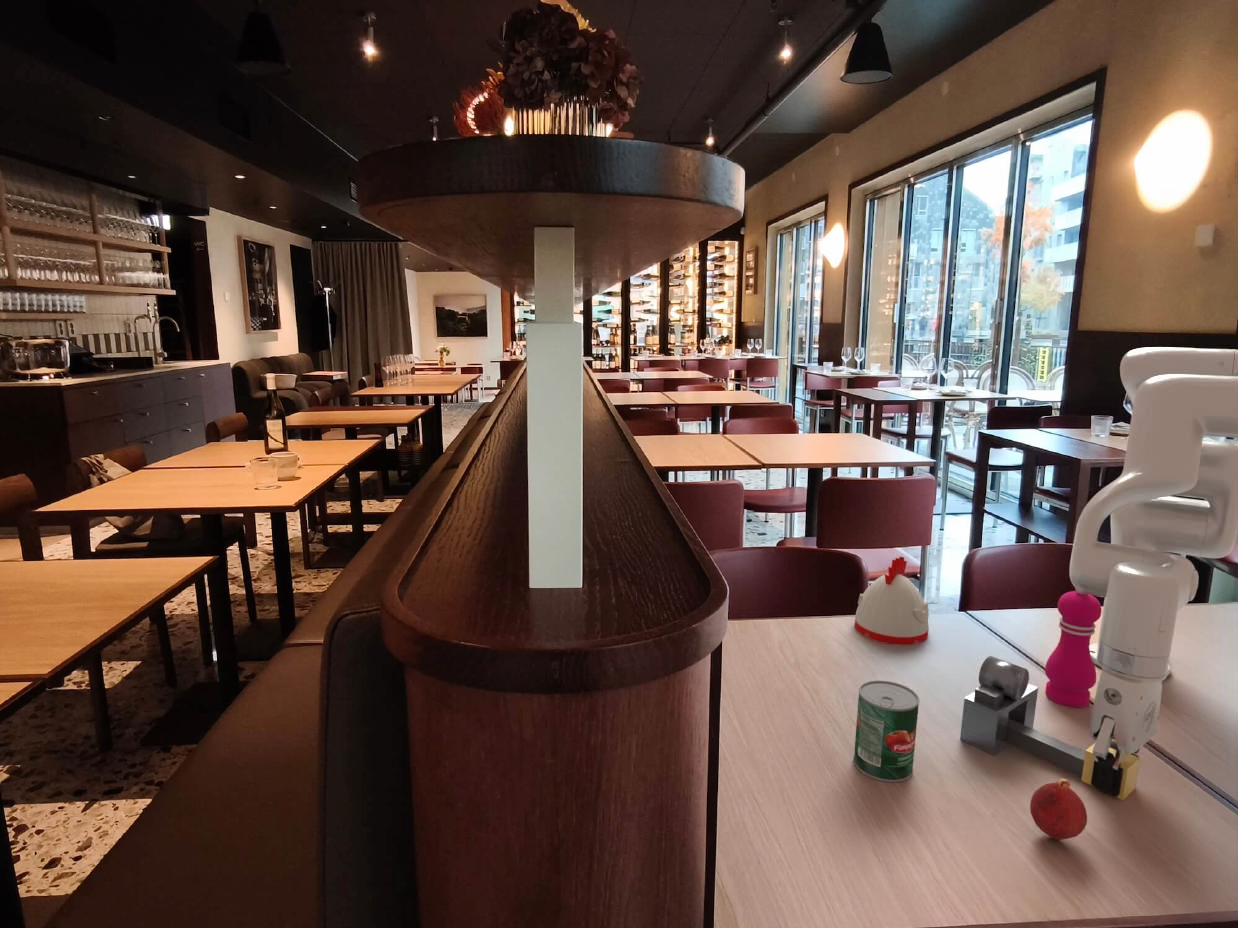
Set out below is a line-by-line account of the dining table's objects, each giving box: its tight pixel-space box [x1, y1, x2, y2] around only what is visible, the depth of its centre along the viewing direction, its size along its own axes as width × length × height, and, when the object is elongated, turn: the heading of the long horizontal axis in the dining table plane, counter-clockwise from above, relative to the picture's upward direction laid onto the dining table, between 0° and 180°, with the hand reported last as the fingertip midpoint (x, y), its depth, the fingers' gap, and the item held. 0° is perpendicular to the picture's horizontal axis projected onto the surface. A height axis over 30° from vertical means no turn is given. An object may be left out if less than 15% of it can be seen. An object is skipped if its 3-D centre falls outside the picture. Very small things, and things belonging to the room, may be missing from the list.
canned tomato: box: [853, 679, 920, 783], centre depth 102 cm, size 8×8×11 cm
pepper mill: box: [1044, 587, 1102, 708], centre depth 119 cm, size 7×7×20 cm
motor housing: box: [959, 655, 1039, 756], centre depth 109 cm, size 12×5×12 cm, turn 126°
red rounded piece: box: [1029, 777, 1088, 841], centre depth 88 cm, size 6×6×8 cm
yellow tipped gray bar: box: [1005, 718, 1141, 801], centre depth 104 cm, size 4×20×5 cm, turn 36°
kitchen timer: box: [854, 556, 930, 646], centre depth 146 cm, size 14×14×15 cm
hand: (1112, 782), depth 98 cm, fingers open, 4 cm apart
